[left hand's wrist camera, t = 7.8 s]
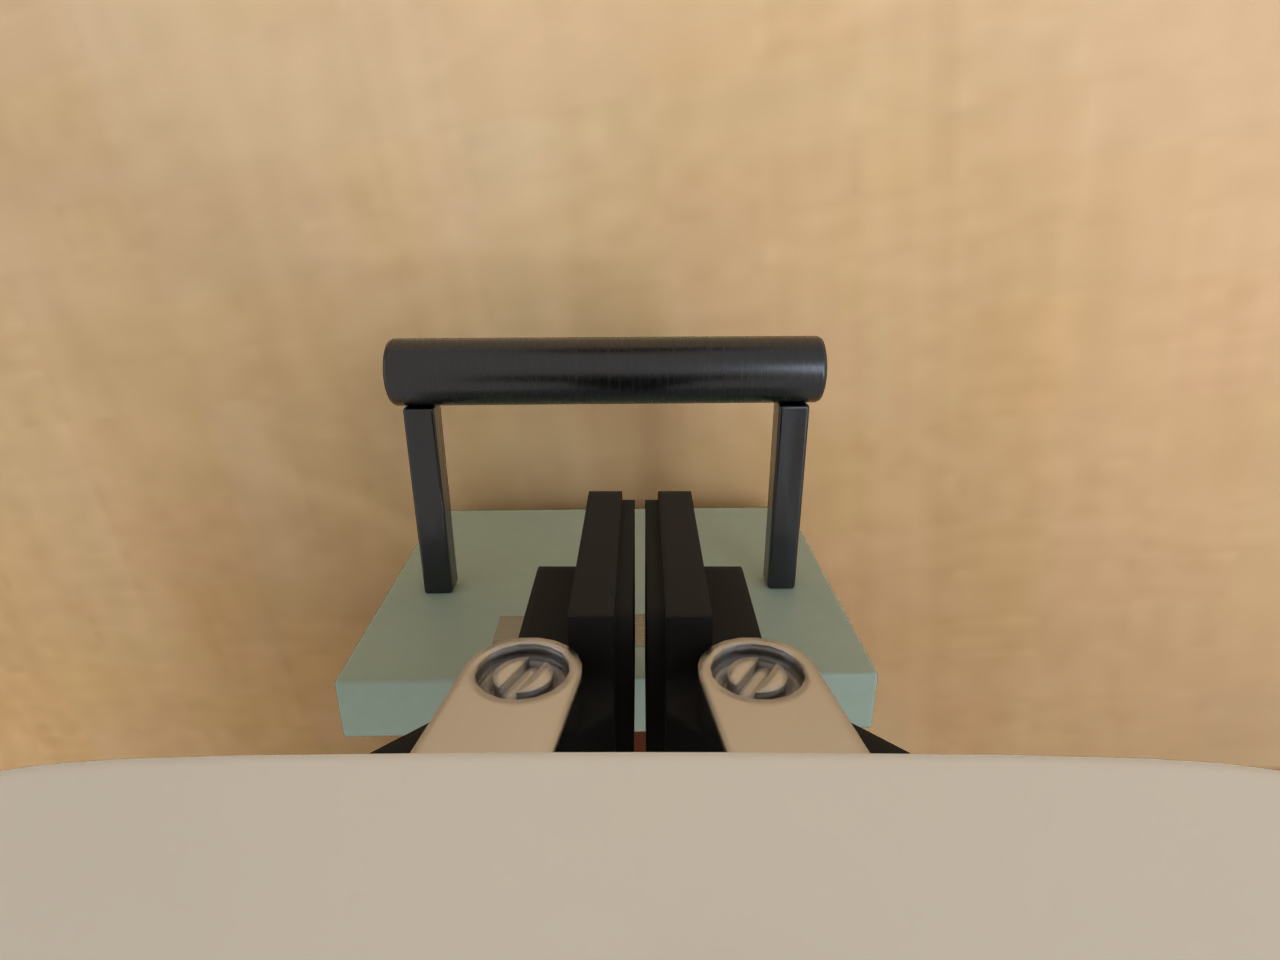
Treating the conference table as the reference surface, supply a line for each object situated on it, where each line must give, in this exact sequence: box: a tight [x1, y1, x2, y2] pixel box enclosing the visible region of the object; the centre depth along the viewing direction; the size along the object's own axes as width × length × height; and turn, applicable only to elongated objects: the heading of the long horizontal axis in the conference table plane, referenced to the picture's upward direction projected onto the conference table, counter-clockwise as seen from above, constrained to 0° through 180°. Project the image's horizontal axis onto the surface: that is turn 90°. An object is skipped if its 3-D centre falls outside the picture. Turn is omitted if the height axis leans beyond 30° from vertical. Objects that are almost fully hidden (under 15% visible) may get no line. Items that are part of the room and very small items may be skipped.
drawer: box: [335, 336, 878, 752], centre depth 19 cm, size 23×10×8 cm, turn 0°
